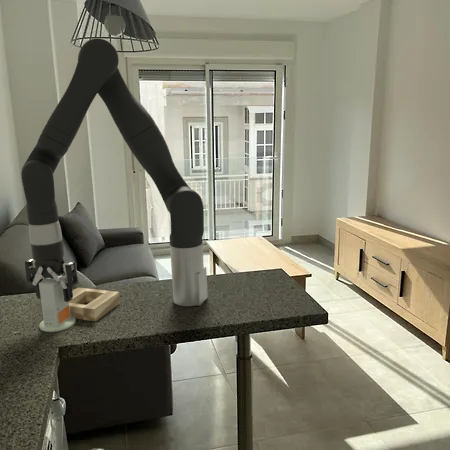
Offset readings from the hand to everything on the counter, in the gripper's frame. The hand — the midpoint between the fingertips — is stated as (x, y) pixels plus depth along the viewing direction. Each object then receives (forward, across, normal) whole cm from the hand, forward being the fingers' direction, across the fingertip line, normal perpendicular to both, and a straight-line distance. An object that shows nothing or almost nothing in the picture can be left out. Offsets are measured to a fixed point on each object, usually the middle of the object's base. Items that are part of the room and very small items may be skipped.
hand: (54, 299), depth 114 cm
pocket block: (+7, -2, -10) cm, 12 cm away
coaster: (+7, 0, 0) cm, 7 cm away
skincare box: (+7, 0, 0) cm, 7 cm away
